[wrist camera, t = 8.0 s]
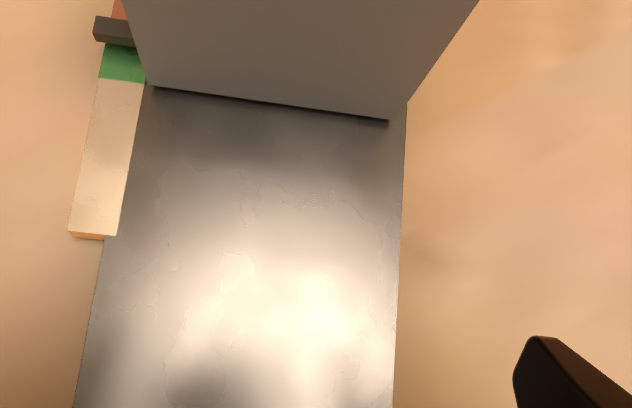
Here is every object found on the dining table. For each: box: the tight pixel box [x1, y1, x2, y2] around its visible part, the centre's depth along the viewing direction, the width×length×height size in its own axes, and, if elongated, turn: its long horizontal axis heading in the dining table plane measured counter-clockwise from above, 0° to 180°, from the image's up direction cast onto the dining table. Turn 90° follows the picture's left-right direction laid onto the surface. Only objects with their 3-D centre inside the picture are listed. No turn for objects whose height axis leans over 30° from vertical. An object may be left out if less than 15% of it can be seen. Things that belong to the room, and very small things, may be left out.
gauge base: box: [67, 0, 407, 408], centre depth 19 cm, size 22×10×1 cm, turn 175°
